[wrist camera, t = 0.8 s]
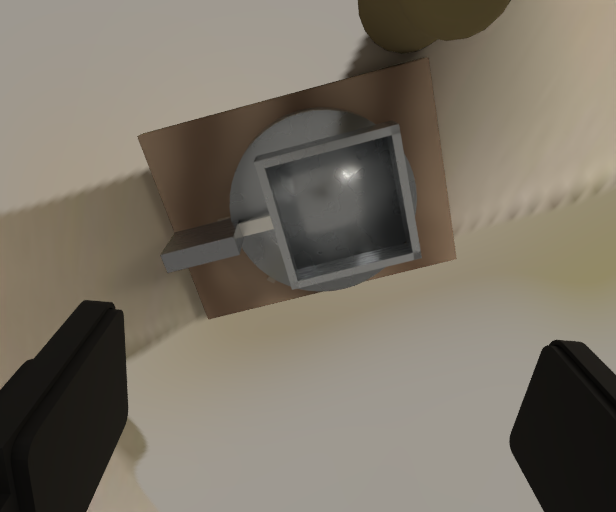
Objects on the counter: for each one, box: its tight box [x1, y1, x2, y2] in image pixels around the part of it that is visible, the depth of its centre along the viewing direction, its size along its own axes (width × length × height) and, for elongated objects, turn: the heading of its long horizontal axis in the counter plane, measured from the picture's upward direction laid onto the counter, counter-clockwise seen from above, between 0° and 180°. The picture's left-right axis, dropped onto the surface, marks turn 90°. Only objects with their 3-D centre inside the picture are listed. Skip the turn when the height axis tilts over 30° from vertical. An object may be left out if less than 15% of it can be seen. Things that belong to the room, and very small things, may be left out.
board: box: [138, 58, 456, 319], centre depth 33 cm, size 19×14×1 cm
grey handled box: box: [160, 107, 422, 292], centre depth 30 cm, size 16×12×5 cm
